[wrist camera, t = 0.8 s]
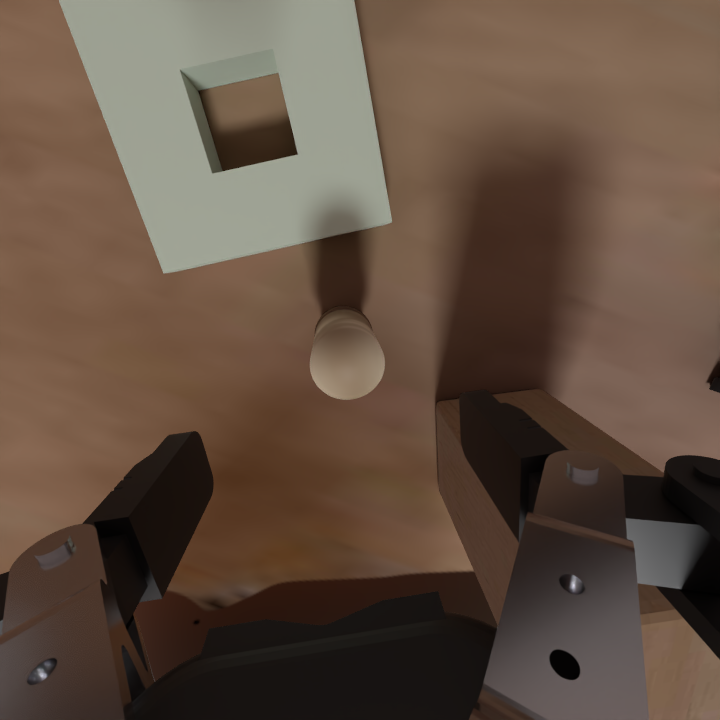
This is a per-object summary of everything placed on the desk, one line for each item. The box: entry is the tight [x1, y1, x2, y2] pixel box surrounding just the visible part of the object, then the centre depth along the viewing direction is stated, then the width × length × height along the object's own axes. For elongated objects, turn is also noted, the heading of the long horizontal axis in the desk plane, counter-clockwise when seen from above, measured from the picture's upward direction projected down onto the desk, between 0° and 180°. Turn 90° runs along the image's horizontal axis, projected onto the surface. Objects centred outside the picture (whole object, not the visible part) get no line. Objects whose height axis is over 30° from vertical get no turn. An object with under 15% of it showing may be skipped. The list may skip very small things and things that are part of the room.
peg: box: [310, 306, 385, 400], centre depth 24 cm, size 4×4×10 cm
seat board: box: [59, 0, 392, 273], centre depth 23 cm, size 16×16×3 cm
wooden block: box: [436, 389, 720, 720], centre depth 24 cm, size 10×10×20 cm
